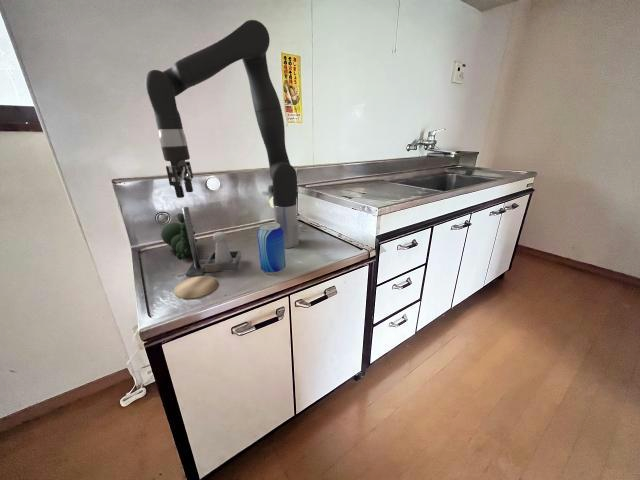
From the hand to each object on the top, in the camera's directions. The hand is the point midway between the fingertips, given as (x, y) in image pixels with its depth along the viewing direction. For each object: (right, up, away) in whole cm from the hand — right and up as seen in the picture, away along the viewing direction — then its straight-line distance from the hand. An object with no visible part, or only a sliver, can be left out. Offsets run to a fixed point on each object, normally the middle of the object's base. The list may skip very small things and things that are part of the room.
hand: (185, 194), depth 90 cm
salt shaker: (+13, -25, +2) cm, 29 cm away
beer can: (+30, -26, 0) cm, 40 cm away
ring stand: (+10, -25, +1) cm, 27 cm away
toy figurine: (-8, -21, +13) cm, 26 cm away
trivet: (+9, -30, -10) cm, 33 cm away
